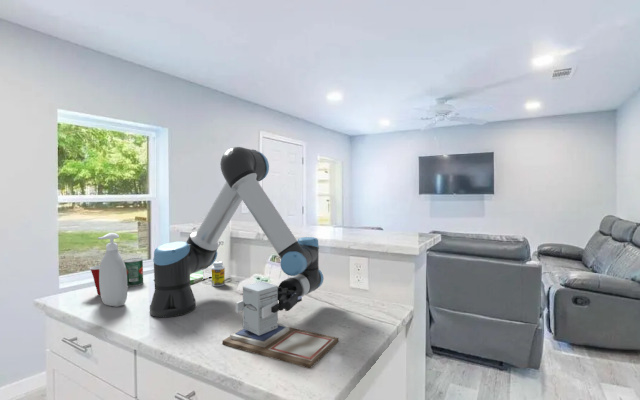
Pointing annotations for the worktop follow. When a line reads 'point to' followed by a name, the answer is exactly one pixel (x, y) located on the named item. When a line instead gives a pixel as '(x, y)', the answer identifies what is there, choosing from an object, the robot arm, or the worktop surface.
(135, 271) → the canned tomato
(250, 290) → the supplement box
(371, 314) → the worktop surface
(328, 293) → the worktop surface
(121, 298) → the soap bottle
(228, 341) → the stamping board
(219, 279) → the supplement bottle
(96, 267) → the plastic cup
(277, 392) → the worktop surface
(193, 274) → the dish towel
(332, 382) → the worktop surface
